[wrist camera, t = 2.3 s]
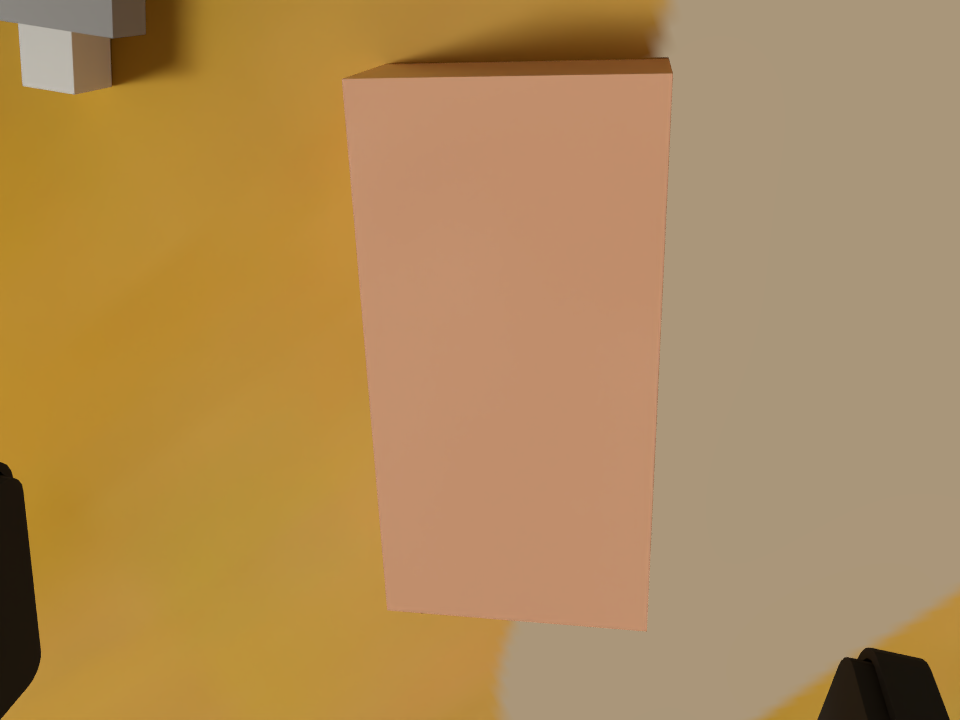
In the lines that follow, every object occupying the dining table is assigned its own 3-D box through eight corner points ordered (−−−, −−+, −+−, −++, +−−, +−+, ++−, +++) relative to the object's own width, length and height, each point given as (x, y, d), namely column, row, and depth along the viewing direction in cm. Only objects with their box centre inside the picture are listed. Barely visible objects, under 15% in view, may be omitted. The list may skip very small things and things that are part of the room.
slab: (646, 543, 24) (646, 631, 21) (420, 528, 25) (387, 610, 22) (668, 56, 19) (672, 73, 16) (389, 62, 20) (342, 79, 17)
